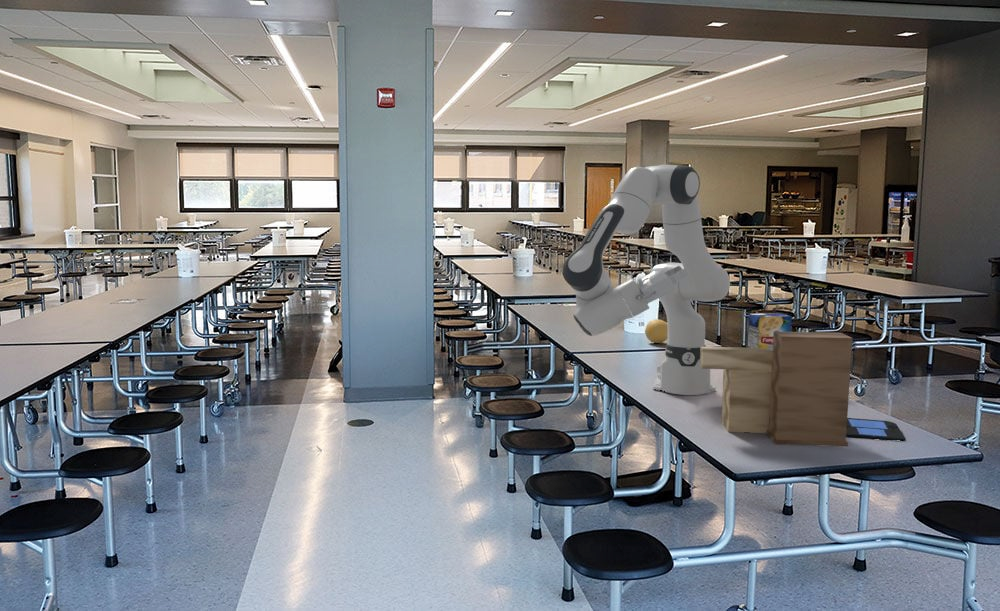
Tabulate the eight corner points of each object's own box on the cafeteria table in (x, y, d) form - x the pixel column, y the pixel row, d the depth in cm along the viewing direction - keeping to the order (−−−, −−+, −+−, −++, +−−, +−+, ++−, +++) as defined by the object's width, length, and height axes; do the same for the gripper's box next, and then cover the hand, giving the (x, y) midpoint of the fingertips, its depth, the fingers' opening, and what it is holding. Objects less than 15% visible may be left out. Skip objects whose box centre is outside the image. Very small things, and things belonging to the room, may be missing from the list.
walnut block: (766, 434, 194) (771, 331, 190) (835, 436, 192) (842, 332, 189) (775, 444, 185) (780, 337, 182) (847, 446, 184) (854, 338, 181)
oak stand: (721, 422, 204) (724, 358, 202) (807, 424, 202) (811, 360, 200) (728, 432, 195) (731, 365, 193) (818, 434, 193) (822, 367, 191)
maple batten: (699, 365, 200) (700, 346, 199) (779, 367, 198) (780, 348, 198) (702, 368, 196) (702, 349, 196) (783, 370, 195) (784, 350, 194)
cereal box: (745, 381, 251) (748, 313, 249) (776, 379, 253) (780, 313, 251) (756, 385, 245) (759, 316, 242) (788, 384, 247) (791, 316, 244)
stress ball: (664, 348, 312) (679, 331, 315) (650, 330, 310) (664, 313, 313) (650, 348, 321) (664, 331, 324) (636, 331, 319) (650, 314, 322)
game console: (842, 439, 192) (842, 430, 191) (834, 424, 204) (835, 416, 204) (906, 444, 188) (907, 435, 188) (894, 429, 200) (895, 420, 200)
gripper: (632, 290, 187) (684, 262, 185) (626, 281, 207) (672, 256, 205) (645, 312, 187) (696, 285, 185) (637, 302, 207) (684, 276, 206)
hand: (684, 269), depth 195 cm, fingers open, 8 cm apart
